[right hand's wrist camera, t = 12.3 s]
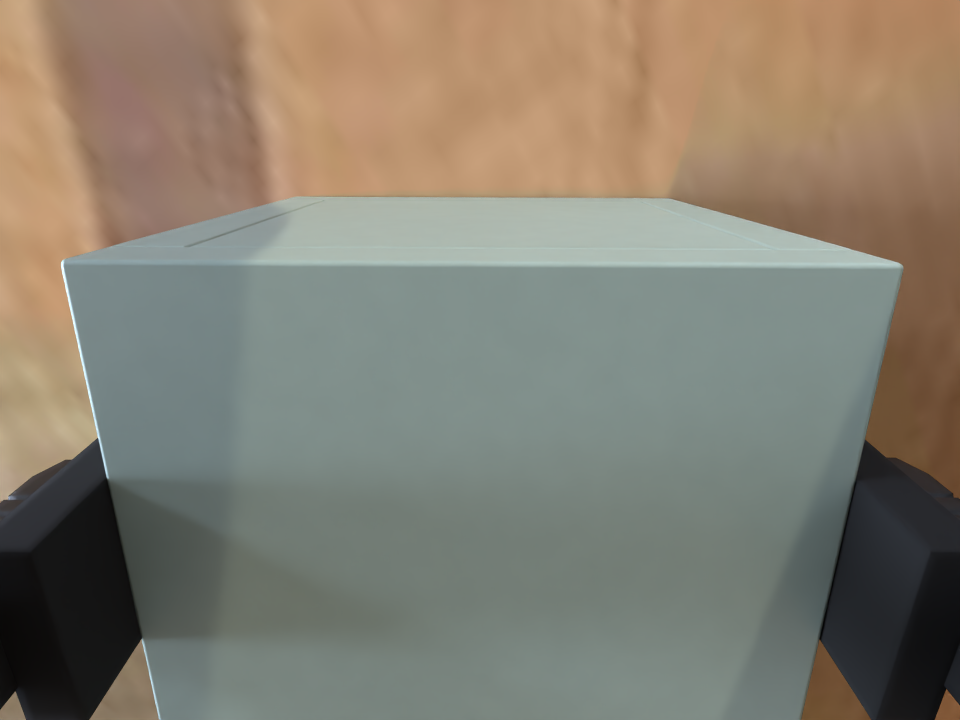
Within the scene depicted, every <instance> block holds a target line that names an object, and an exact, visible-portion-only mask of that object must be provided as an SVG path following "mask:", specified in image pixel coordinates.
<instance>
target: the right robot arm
mask: <svg viewBox="0 0 960 720" xmlns="http://www.w3.org/2000/svg"><path fill="white" fill-rule="evenodd" d="M141 639H142V637H141V633H140V628H139V624H138V619H137V615H136V610H135V605H134V601H133V596H132V592H131V587H130V582H129V578H128V573H127V568H126V564H125V559H124V555H123V550H122V545H121V541H120V536H119V531H118V527H117V522H116V518H115V513H114V508H113V504H112V499H111V494H110V490H109V485H108V481H107V476H106V471H105V467H104V462H103V457H102V453H101V448H100V444H99V439H98V438H97V439H96V440H95V441H94V442H93V443H91V444H90V445H89V446H88V447H87V448H85V449H84V450H83V451H82V452H81V453H80V454H78V455H77V456H76V457H75V458H74V459H73V460H64V461H62V462H60V463H58V464H56V465H54V466H52V467H50V468H48V469H46V470H45V471H43V472H41V473H39V474H37V475H35V476H33V477H31V478H30V479H29V480H28V481H27V482H25V483H24V484H23V485H22V486H20V487H19V488H18V489H17V490H15V491H14V492H13V493H12V494H11V495H9V499H8V500H3V501H2V502H1V503H0V709H1V708H2V707H3V706H4V704H5V703H6V702H7V701H8V699H9V698H10V697H11V696H12V694H13V693H14V692H15V691H16V693H17V696H18V699H19V701H20V704H21V707H22V709H23V712H24V715H25V717H26V720H89V719H90V718H91V716H92V715H93V713H94V711H95V710H96V708H97V707H98V705H99V704H100V702H101V701H102V699H103V697H104V696H105V694H106V693H107V691H108V690H109V688H110V687H111V685H112V684H113V682H114V680H115V679H116V677H117V676H118V674H119V673H120V671H121V670H122V668H123V666H124V665H125V663H126V662H127V660H128V659H129V657H130V656H131V654H132V653H133V651H134V649H135V648H136V646H137V645H138V643H139V642H140V640H141ZM820 640H821V642H822V644H823V645H824V647H825V648H826V650H827V651H828V653H829V654H830V656H831V658H832V659H833V661H834V662H835V664H836V665H837V667H838V668H839V670H840V672H841V673H842V675H843V676H844V678H845V679H846V681H847V682H848V684H849V685H850V687H851V689H852V690H853V692H854V693H855V695H856V696H857V698H858V699H859V701H860V703H861V704H862V706H863V707H864V709H865V710H866V712H867V713H868V715H869V716H870V718H871V720H935V717H936V714H937V712H938V709H939V706H940V704H941V701H942V699H943V696H944V693H945V691H946V689H947V690H948V691H949V692H950V694H951V695H952V696H953V697H954V699H955V700H956V701H957V702H958V704H959V705H960V499H959V498H954V497H953V493H951V492H950V491H949V490H948V489H946V488H945V487H944V486H943V485H942V484H940V483H939V482H938V481H937V480H935V479H934V478H933V477H932V476H930V475H929V474H927V473H925V472H923V471H921V470H919V469H917V468H915V467H913V466H911V465H909V464H907V463H905V462H903V461H901V460H899V459H897V458H886V457H885V456H884V455H882V454H881V453H880V452H879V451H878V450H877V449H875V448H874V447H873V446H872V445H871V444H869V443H868V442H867V441H866V440H865V441H864V445H863V449H862V454H861V458H860V463H859V467H858V471H857V476H856V480H855V485H854V489H853V493H852V498H851V502H850V507H849V511H848V515H847V520H846V524H845V529H844V533H843V537H842V542H841V546H840V551H839V555H838V559H837V564H836V568H835V573H834V577H833V581H832V586H831V590H830V595H829V599H828V603H827V608H826V612H825V617H824V621H823V625H822V630H821V634H820Z"/></svg>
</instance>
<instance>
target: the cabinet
mask: <svg viewBox="0 0 960 720" xmlns="http://www.w3.org/2000/svg"><path fill="white" fill-rule="evenodd" d="M61 268H62V273H63V277H64V282H65V286H66V291H67V296H68V300H69V305H70V310H71V314H72V319H73V323H74V328H75V333H76V337H77V342H78V347H79V351H80V356H81V360H82V365H83V370H84V374H85V379H86V384H87V388H88V393H89V397H90V402H91V407H92V411H93V416H94V421H95V425H96V430H97V434H98V439H99V444H100V448H101V453H102V457H103V462H104V467H105V471H106V476H107V481H108V485H109V490H110V494H111V499H112V504H113V508H114V513H115V518H116V522H117V527H118V531H119V536H120V541H121V545H122V550H123V555H124V559H125V564H126V568H127V573H128V578H129V582H130V587H131V592H132V596H133V601H134V605H135V610H136V615H137V619H138V624H139V628H140V633H141V637H142V642H143V647H144V652H145V656H146V661H147V665H148V670H149V675H150V679H151V684H152V689H153V693H154V698H155V702H156V707H157V712H158V716H159V720H801V718H802V713H803V709H804V705H805V700H806V696H807V691H808V687H809V683H810V678H811V674H812V669H813V665H814V661H815V656H816V652H817V647H818V643H819V639H820V634H821V630H822V625H823V621H824V617H825V612H826V608H827V603H828V599H829V595H830V590H831V586H832V581H833V577H834V573H835V568H836V564H837V559H838V555H839V551H840V546H841V542H842V537H843V533H844V529H845V524H846V520H847V515H848V511H849V507H850V502H851V498H852V493H853V489H854V485H855V480H856V476H857V471H858V467H859V463H860V458H861V454H862V449H863V445H864V441H865V436H866V432H867V427H868V423H869V419H870V414H871V410H872V405H873V401H874V396H875V392H876V388H877V383H878V379H879V374H880V370H881V366H882V361H883V357H884V352H885V348H886V344H887V339H888V335H889V330H890V326H891V322H892V317H893V313H894V308H895V304H896V300H897V295H898V291H899V286H900V282H901V278H902V273H903V265H902V264H900V263H898V262H894V261H891V260H887V259H883V258H880V257H876V256H873V255H869V254H866V253H862V252H858V251H855V250H852V249H849V248H845V247H842V246H838V245H835V244H831V243H827V242H824V241H820V240H817V239H813V238H810V237H806V236H802V235H799V234H795V233H792V232H788V231H785V230H781V229H777V228H774V227H770V226H767V225H763V224H760V223H756V222H752V221H749V220H745V219H742V218H738V217H734V216H731V215H727V214H724V213H720V212H717V211H713V210H709V209H706V208H702V207H699V206H695V205H692V204H688V203H684V202H680V201H677V200H673V199H670V198H481V197H293V198H289V199H285V200H281V201H277V202H274V203H270V204H266V205H262V206H259V207H255V208H251V209H248V210H244V211H240V212H236V213H233V214H229V215H225V216H222V217H218V218H214V219H210V220H207V221H203V222H199V223H196V224H192V225H188V226H184V227H181V228H177V229H173V230H169V231H166V232H162V233H158V234H155V235H151V236H147V237H143V238H140V239H136V240H132V241H129V242H125V243H121V244H117V245H114V246H112V247H108V248H104V249H100V250H96V251H93V252H89V253H85V254H82V255H78V256H74V257H70V258H67V259H65V260H63V261H62V262H61Z"/></svg>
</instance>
